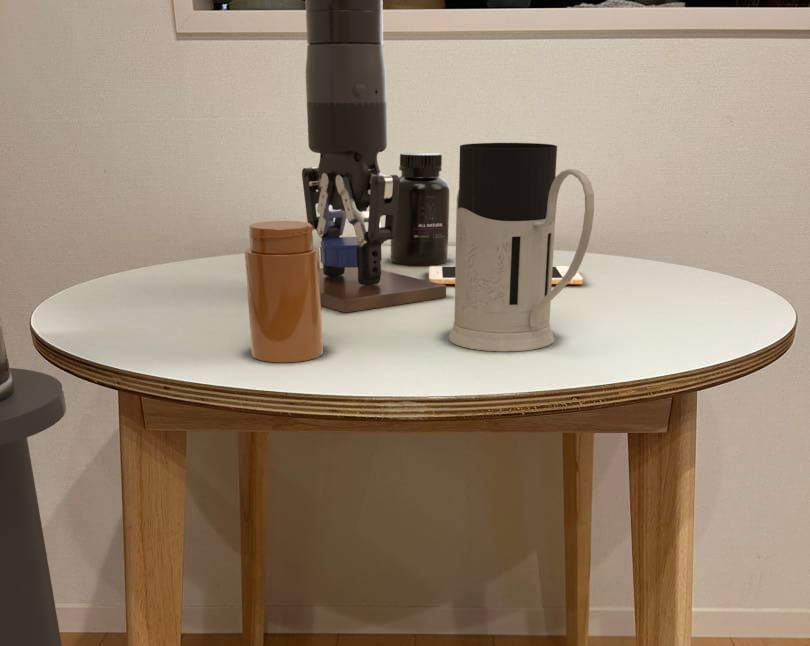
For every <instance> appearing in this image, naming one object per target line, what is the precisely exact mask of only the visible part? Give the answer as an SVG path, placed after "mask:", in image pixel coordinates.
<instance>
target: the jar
mask: <svg viewBox="0 0 810 646" xmlns="http://www.w3.org/2000/svg"><path fill="white" fill-rule="evenodd" d="M314 230H315V229H314V227H313V225H312V224H310V223H308V222H305V221H298V220H273V221H272V220H271V221H260V222H254V223H251V224H250V225H249V226H248V231H249V247H248V248H246V249H245V250H244V262H245V274H246V275H245V276H246V293H247V305H248V306H247V307H248V320H249V322H248V323H249V333H250V334H249V335H250V351H251V356H252V358H254V359H256V360H259V361H262V362H268V363H298V362H305V361H306V362H307V361H311V360H315V359H317V358H319V357H321V356H322V355H323V353H324V345H323V344H324V343H323V341H324V340H323V319H322V305H321V289H320V268H321V265H320V263H321V261H320V248H319V247H317V246H315V245H314V239H313V231H314Z"/></svg>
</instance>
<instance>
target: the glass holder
mask: <svg viewBox="0 0 810 646" xmlns="http://www.w3.org/2000/svg"><path fill="white" fill-rule="evenodd" d="M557 153H558V145H556V144H552V143H551V144H549V143H538V142H482V143H481V142H478V143H476V142H475V143H465V144H460V145H459V168H458V170H459V175H458V190H457V195H456V213H455V215H456V216H455V217H456V218H455V264H454V266H455V284H454V321H453V323H452V324H453V325H452V329H451V330H450V332H449V334H448V341H449V342H451V343H452V344H454V345H456V346H459V347H463V348H467V349H471V350H477V351H488V352H522V351H524V352H525V351H533V350H538V349H543V348H545V347H548V346H550V345H552V344H553V343H554V341H555V337H554V334H553V332H552V330H551V324H550V320H551V301H552V300H554V298H555V297H556V296H558V294H560V293H561V291H562V290H563V289H564V288H565V287H566V286H568V285H569V284H568V283H569V282H570V281H571V279H572V278H573V277H574V276H575V274H576V273H577V272H579V268H580V266H581V264H582V262H583V260H584V257H585V254H586V252H587V249H588V247H589V242H590V238H591V234H592V229H593V222H594V213H595V193H594V189H593V185H592V182H591V181H590V179H589V177H588V175H586V174H585V173H584V172H582V171H581V170H579V169H575V168H574V169H573V168H567V169H565V170H562V171H560V172H559V173H558V174H557V159H558V158H557V155H558V154H557ZM556 174H557V175H556ZM570 175H572V176H573V177H575V178H577V180H578V181H579V182H580V185H582V189H583V194H584V215H583V223H582V231H581V234H580V238H579V242H578V246H577V248H576V251H575V254H574V256H573V259H572V261H571V263H570V265H569V266H570V267H569V269H568V271H567V273H566V274H565V275H564V277H563V278H562V279H561V280H560V282H559V283H558V284H555V286H554V287H553V288H552V285H553V284H552V268H553V266H554V251H555V231H556V215H557V213H556V212H557V205H558V198H559V197H558V196H559V192H560V189H561V186H562V184H563V182H564V181H565V179H566V178H567V177H568V176H570Z"/></svg>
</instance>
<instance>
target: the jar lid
mask: <svg viewBox="0 0 810 646" xmlns="http://www.w3.org/2000/svg"><path fill="white" fill-rule="evenodd" d="M357 246H360V245H359V244H358V241H357V237H356V236H343V237H342V236H340V238H331V239H326V240H323V241H322V240H321V241H320V247H319V255H320V263H321V264H322V266H323V265H326V266H331V267H358V255H357ZM382 259H383V258H382V257H381V261H382Z"/></svg>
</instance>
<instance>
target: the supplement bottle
mask: <svg viewBox="0 0 810 646" xmlns="http://www.w3.org/2000/svg"><path fill="white" fill-rule="evenodd" d="M442 159H443V155H442V154H441V153H435V152H402V153H400V154H399V166H398V170H399V171H400V173H401V174H400V176H398V177H399V180H400V185H399V197H398V210H397V222H396V234H395V238H394V239H390V259H391V260H392V261H393V262H394V263H395V264H402V265H408V266H435V265H440V264H444V263H445V262H446V261H447V260H448V254H449V230H450V229H449V228H450V227H449V225H450V195H451V194H450V193H451V192H450V190H451V189H450V185H449V183H448V182H447V181H446V180H445V179H444V178H443V177H441V176H440V175H441V174H440V173H441V172H442V171H443V166H442V164H443V161H442Z"/></svg>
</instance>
